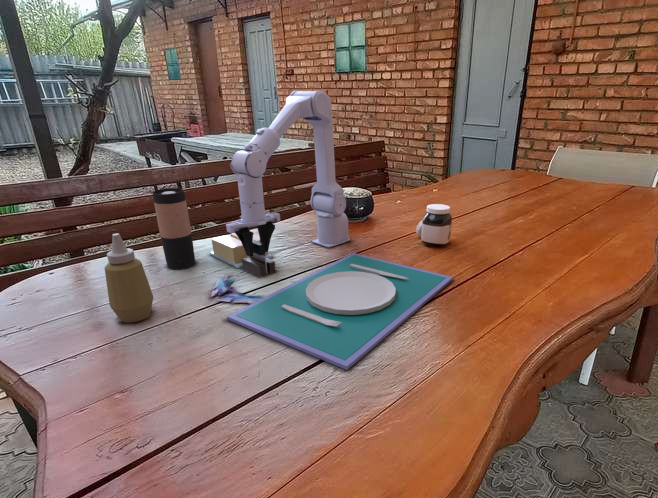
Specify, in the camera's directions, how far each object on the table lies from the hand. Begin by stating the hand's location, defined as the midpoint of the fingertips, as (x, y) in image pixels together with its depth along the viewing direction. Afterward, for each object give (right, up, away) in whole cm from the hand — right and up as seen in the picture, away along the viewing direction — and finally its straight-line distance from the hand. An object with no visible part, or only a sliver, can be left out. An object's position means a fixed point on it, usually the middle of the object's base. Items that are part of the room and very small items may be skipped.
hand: (257, 253), depth 109 cm
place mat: (+24, -11, -13) cm, 30 cm away
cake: (-7, 0, +11) cm, 14 cm away
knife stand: (0, -4, +2) cm, 5 cm away
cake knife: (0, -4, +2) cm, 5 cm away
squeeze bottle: (-20, -14, -21) cm, 32 cm away
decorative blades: (-3, -10, -10) cm, 15 cm away
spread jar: (+49, +4, +23) cm, 54 cm away
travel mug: (-22, -3, +6) cm, 23 cm away
